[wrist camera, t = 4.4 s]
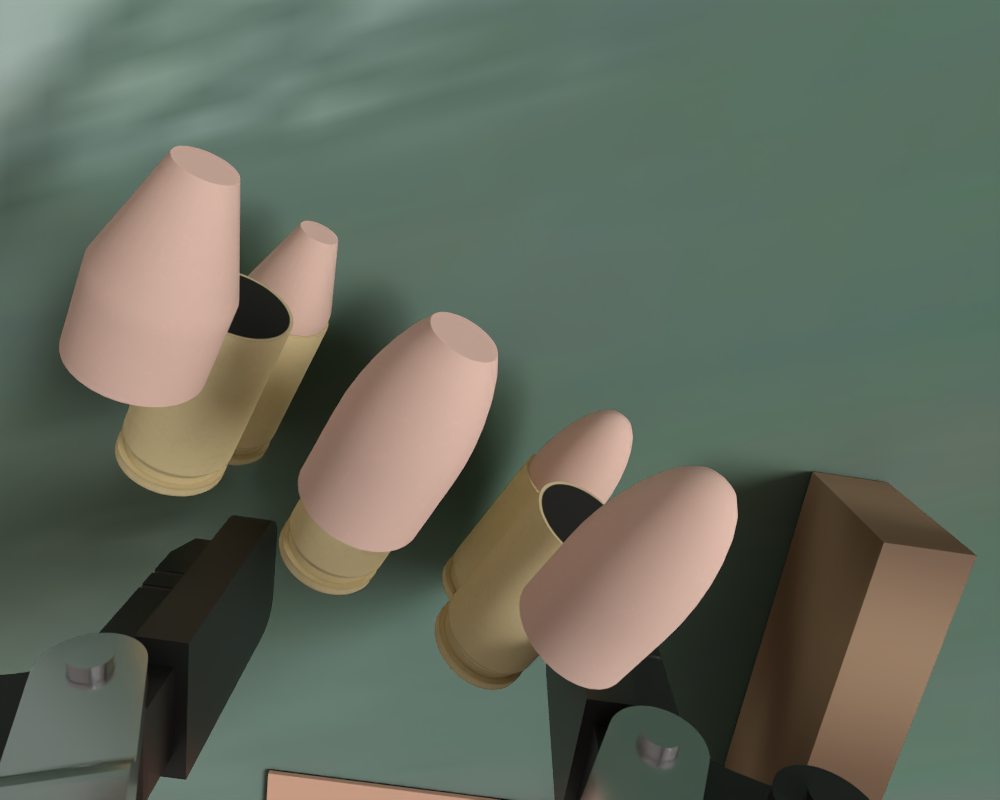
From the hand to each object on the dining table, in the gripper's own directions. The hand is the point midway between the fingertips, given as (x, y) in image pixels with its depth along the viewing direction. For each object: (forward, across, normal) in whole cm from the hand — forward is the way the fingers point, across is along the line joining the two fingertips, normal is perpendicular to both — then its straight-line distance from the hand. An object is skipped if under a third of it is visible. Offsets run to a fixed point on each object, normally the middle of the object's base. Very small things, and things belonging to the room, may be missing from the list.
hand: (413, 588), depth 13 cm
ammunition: (+3, +1, -2) cm, 4 cm away
